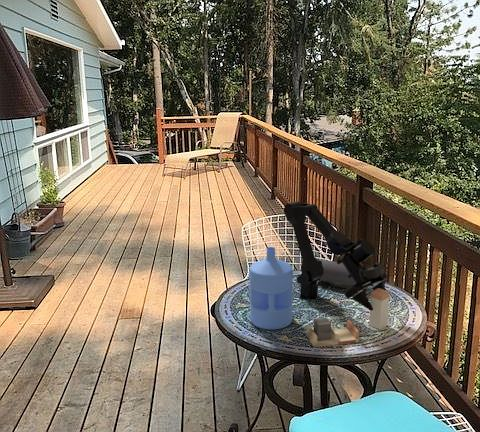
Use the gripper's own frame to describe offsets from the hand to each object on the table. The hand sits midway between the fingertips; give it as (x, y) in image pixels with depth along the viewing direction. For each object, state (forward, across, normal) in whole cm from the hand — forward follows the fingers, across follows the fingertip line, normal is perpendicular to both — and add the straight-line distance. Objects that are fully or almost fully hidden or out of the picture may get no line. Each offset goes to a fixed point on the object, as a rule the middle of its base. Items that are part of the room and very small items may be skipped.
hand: (379, 305), depth 173 cm
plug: (+5, 0, +6) cm, 8 cm away
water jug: (-15, -25, +26) cm, 39 cm away
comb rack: (+1, -19, +9) cm, 21 cm away
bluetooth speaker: (-16, +18, +27) cm, 36 cm away
